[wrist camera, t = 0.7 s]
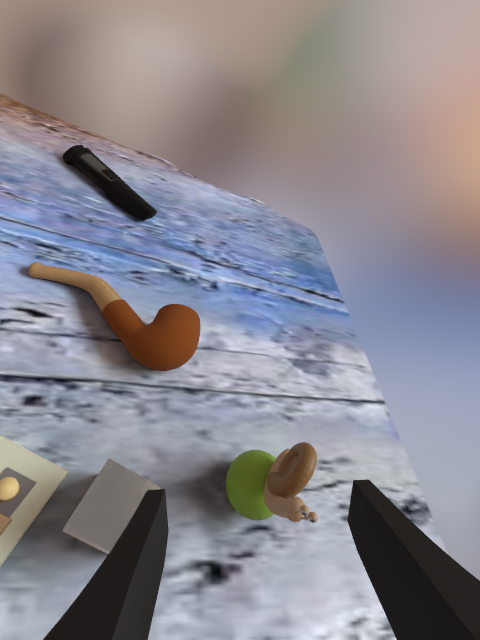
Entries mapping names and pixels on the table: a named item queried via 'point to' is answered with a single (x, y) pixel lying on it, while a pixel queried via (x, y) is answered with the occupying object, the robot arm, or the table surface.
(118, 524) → the plug block
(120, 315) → the smoking pipe
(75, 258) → the table surface
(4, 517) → the socket collar
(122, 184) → the electric trimmer
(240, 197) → the table surface
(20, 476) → the board
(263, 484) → the snail figurine
